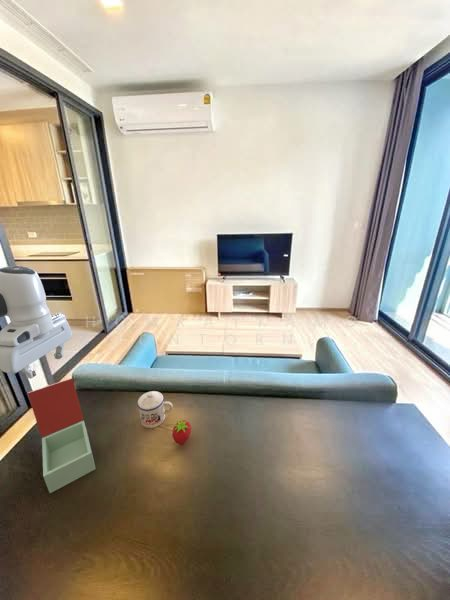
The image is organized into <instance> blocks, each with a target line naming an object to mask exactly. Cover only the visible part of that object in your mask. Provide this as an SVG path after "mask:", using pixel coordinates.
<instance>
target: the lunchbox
mask: <svg viewBox="0 0 450 600" xmlns="http://www.w3.org/2000/svg"><path fill="white" fill-rule="evenodd" d="M41 446H42V447H41V448H42V449H41V452H42V454H41V455H42V477H43V480H44V482H45V485H46V487H47V490H48V493H49V494H52V493H53V492H55V491H57V490H59V489H61V488H63V487H65V486H67V485H68V484H71V483H72V482H75V481H77V480H78V479H80V478H83V476H86V475H87V474H89V473H91V472H93V471H95V470H96V464H95V460H94V455H93V451H92V447H91V443H90V438H89V434H88V430H87V427H86V423H85V421H84V420H82V421H80V422H77V423H75V424H73V425H70V426H68V427H66V428H63V429H61V430H59V431H56V432H54V433H51V434H49V435H47V436H44V437H41Z"/></svg>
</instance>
